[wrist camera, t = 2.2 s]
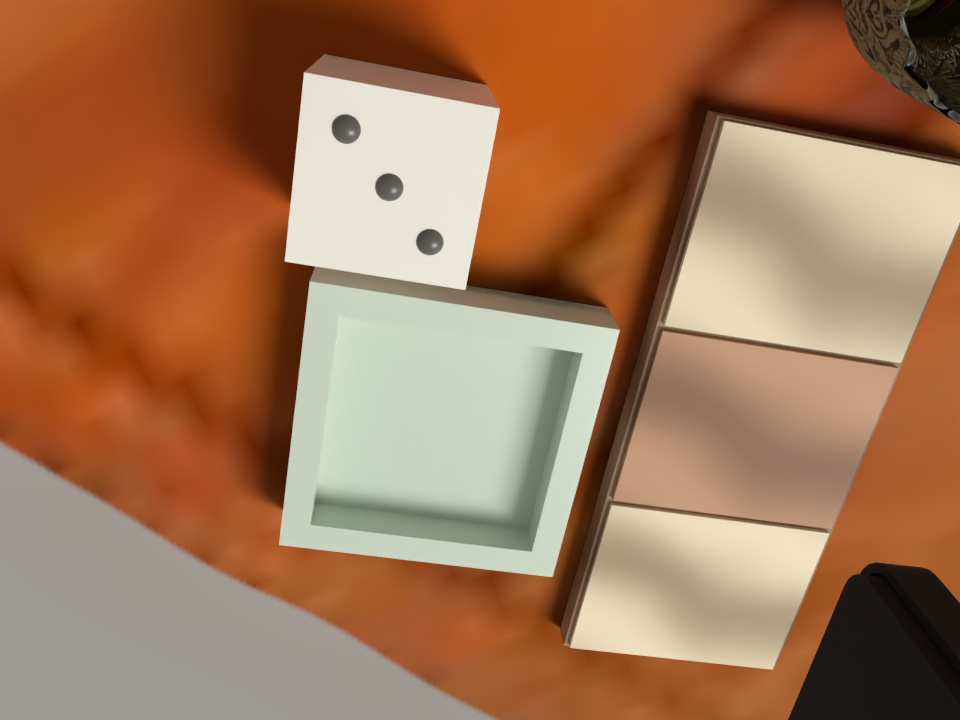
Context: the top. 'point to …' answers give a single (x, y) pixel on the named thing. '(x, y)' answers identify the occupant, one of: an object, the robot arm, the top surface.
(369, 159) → the block
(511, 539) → the tray
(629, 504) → the track
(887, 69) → the dark bronze flared dome
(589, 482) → the top surface
